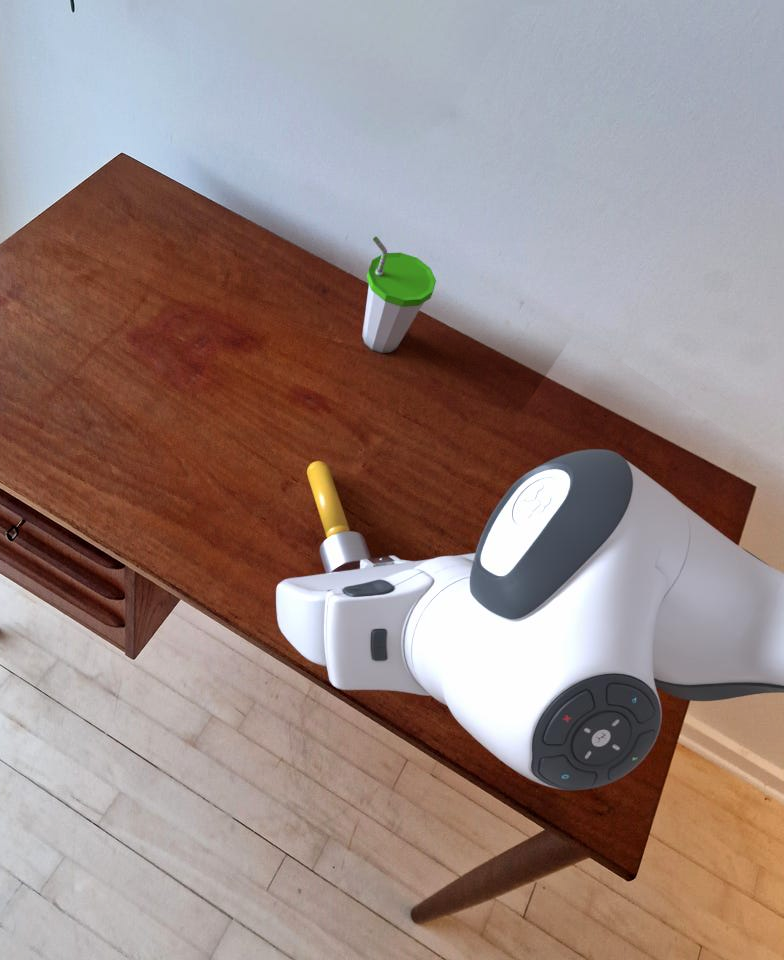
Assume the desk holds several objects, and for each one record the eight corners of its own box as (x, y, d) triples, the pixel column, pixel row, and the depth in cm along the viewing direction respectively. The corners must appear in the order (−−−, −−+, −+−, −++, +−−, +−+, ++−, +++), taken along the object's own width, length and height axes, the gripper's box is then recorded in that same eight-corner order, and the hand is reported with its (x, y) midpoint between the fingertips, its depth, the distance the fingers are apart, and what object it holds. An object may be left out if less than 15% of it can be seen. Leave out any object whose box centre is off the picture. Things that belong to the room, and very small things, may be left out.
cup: (422, 337, 104) (461, 242, 92) (391, 373, 100) (427, 279, 88) (369, 306, 106) (400, 209, 93) (337, 340, 101) (364, 243, 89)
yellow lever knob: (383, 567, 81) (345, 458, 90) (353, 555, 78) (316, 443, 87) (349, 592, 83) (315, 482, 92) (318, 581, 80) (285, 469, 89)
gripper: (588, 560, 59) (489, 515, 71) (308, 601, 53) (255, 544, 66) (586, 645, 60) (488, 586, 73) (312, 694, 54) (259, 620, 67)
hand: (376, 566), depth 69 cm, fingers closed
